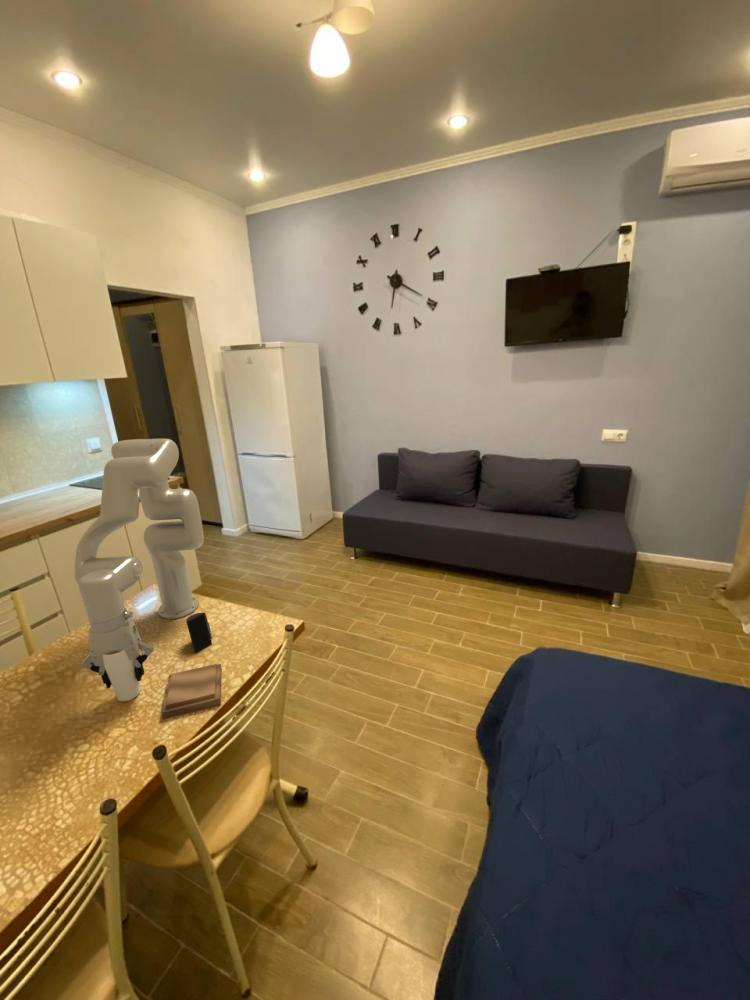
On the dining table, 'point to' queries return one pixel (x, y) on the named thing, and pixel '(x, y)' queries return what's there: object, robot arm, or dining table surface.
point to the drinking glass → (121, 675)
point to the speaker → (199, 631)
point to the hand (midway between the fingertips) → (125, 680)
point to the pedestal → (192, 690)
